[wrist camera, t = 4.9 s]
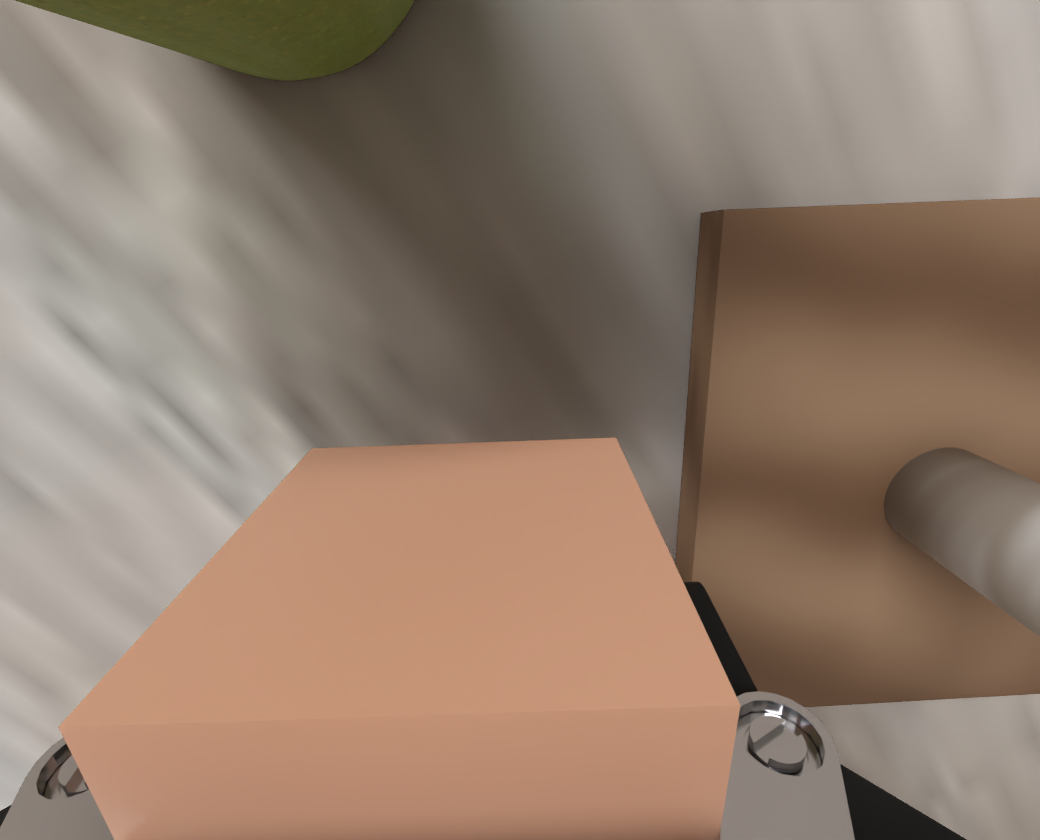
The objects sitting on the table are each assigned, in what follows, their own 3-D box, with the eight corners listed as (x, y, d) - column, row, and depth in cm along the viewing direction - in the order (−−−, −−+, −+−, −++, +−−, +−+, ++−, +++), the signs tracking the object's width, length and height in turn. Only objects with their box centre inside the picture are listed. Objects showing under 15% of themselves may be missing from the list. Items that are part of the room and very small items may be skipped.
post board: (700, 212, 14) (945, 177, 6) (1210, 193, 14) (2044, 136, 6) (666, 679, 19) (776, 968, 11) (1037, 658, 19) (1384, 927, 12)
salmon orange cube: (312, 448, 10) (58, 727, 5) (616, 437, 10) (741, 706, 4) (357, 677, 12) (223, 1058, 7) (608, 669, 12) (686, 1046, 7)
